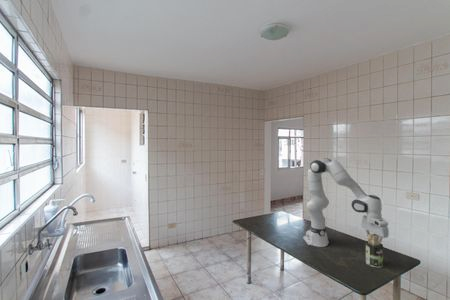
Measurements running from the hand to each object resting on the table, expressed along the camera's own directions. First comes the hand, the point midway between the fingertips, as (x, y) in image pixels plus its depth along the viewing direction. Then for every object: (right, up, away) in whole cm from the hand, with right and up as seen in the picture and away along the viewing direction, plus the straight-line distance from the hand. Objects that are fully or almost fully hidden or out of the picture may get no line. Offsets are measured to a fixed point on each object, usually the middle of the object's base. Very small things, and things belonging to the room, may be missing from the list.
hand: (374, 238), depth 164 cm
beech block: (0, -4, 0) cm, 4 cm away
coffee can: (+1, -18, +1) cm, 18 cm away
